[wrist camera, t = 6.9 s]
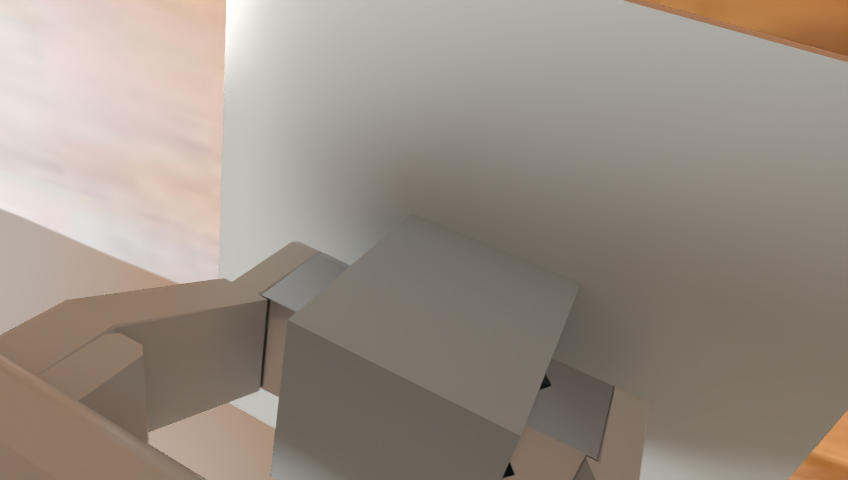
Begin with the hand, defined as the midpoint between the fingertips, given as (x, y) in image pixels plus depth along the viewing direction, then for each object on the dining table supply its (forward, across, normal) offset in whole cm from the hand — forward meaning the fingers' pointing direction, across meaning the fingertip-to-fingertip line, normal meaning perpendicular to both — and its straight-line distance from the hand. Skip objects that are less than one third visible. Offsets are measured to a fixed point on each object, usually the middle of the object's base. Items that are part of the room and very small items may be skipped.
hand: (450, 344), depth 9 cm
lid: (+2, 0, 0) cm, 2 cm away
